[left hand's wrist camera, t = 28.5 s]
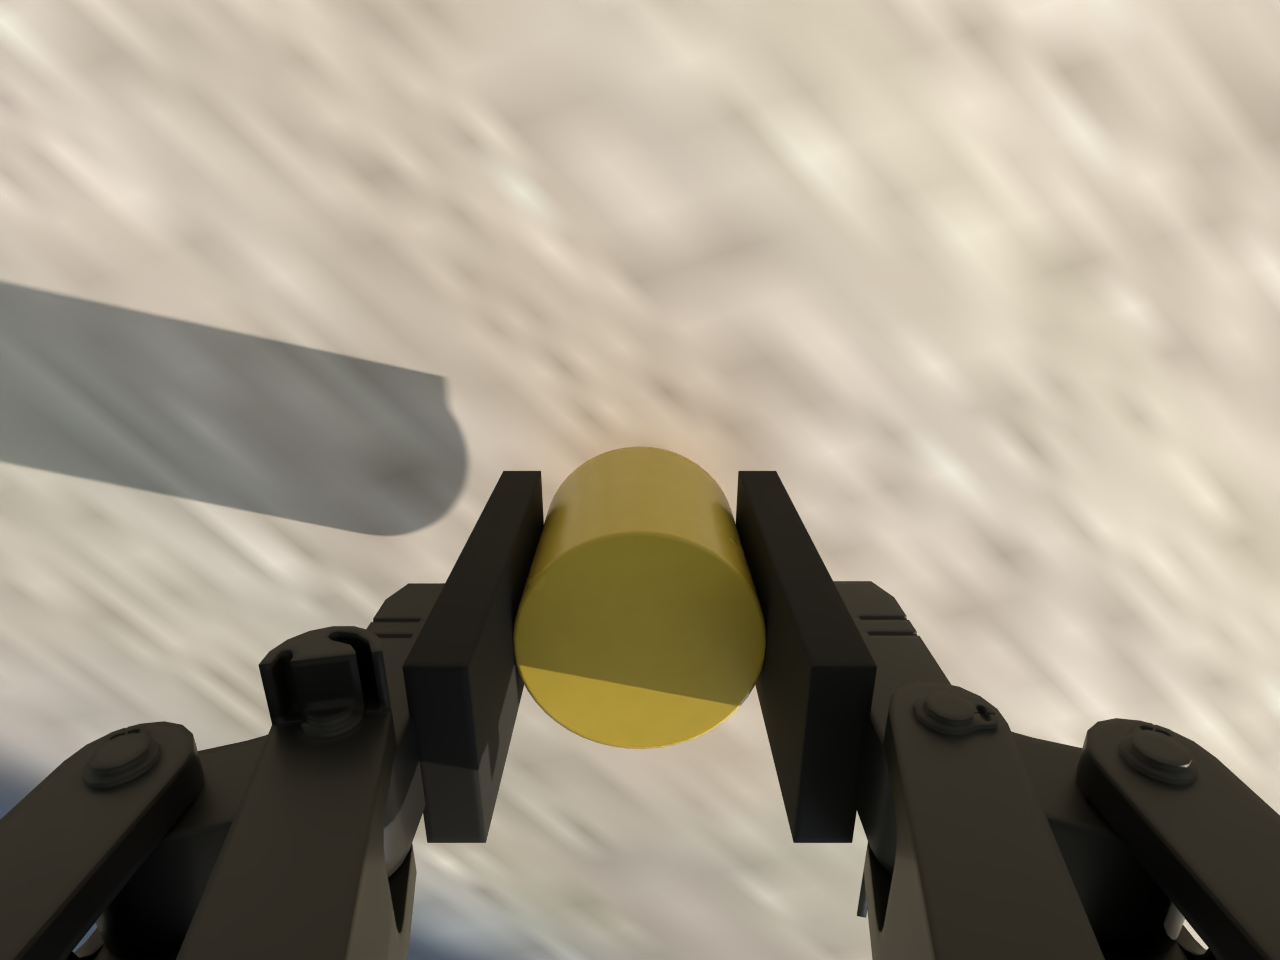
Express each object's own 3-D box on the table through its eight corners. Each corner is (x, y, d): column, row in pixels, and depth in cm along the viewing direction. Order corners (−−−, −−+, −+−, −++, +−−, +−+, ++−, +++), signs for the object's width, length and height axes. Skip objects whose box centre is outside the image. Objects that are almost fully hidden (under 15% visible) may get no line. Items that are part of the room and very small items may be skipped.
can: (719, 625, 16) (746, 760, 12) (540, 609, 16) (507, 739, 12) (747, 456, 14) (787, 545, 10) (551, 436, 14) (517, 519, 10)
